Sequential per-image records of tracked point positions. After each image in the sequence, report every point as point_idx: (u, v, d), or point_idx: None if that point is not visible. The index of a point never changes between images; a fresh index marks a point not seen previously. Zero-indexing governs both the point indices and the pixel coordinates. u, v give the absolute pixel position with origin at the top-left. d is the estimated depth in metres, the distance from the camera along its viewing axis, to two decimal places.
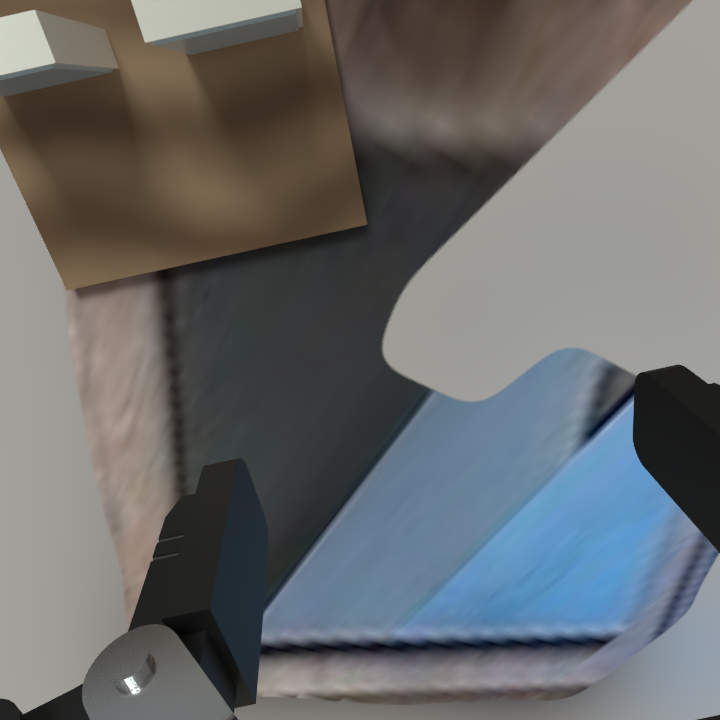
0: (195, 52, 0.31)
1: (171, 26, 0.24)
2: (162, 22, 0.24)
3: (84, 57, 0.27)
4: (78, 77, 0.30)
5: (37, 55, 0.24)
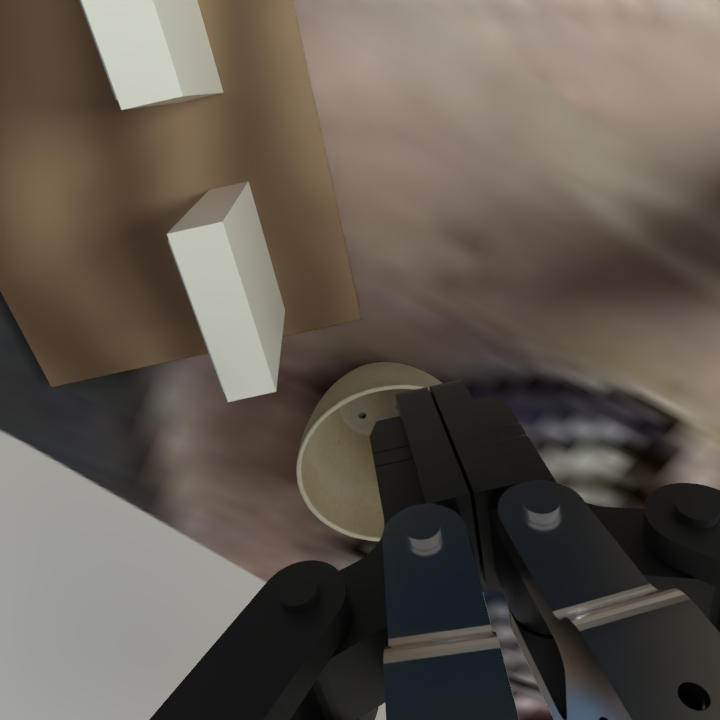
0: None
1: (189, 267, 0.20)
2: (192, 257, 0.20)
3: (162, 103, 0.21)
4: None
5: (126, 85, 0.17)
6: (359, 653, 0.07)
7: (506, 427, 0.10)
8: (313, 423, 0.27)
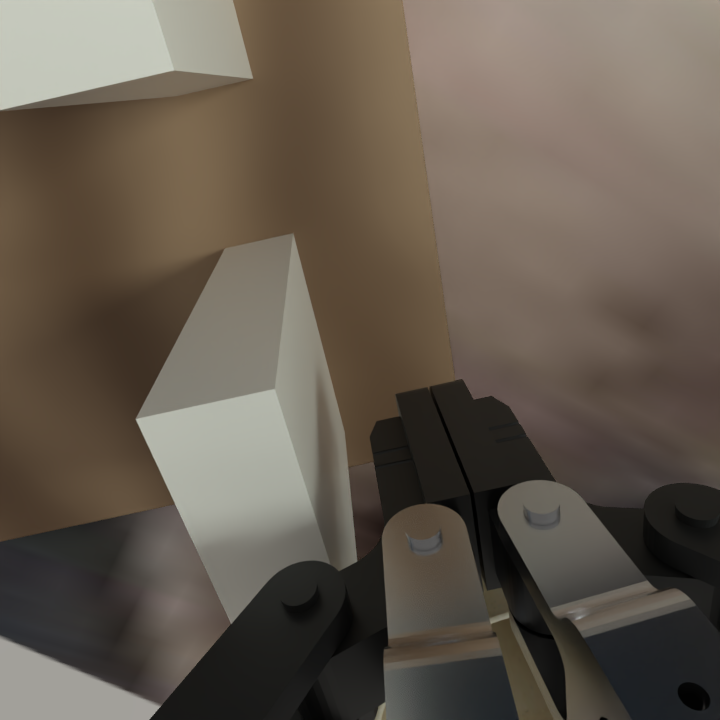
0: None
1: (192, 485, 0.08)
2: (199, 465, 0.08)
3: (131, 97, 0.09)
4: None
5: (0, 36, 0.06)
6: (359, 653, 0.07)
7: (506, 427, 0.10)
8: None
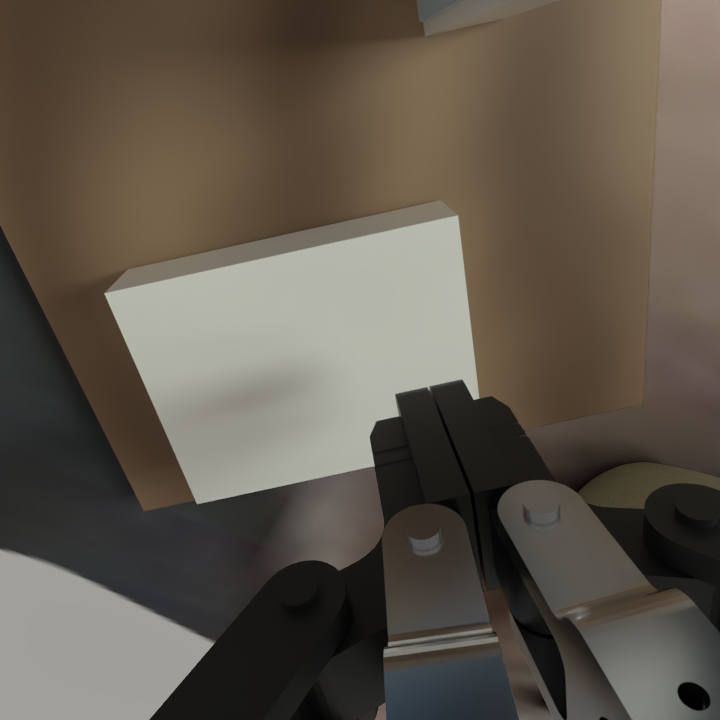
0: None
1: None
2: None
3: (505, 7, 0.09)
4: None
5: None
6: (359, 653, 0.07)
7: (506, 427, 0.10)
8: None
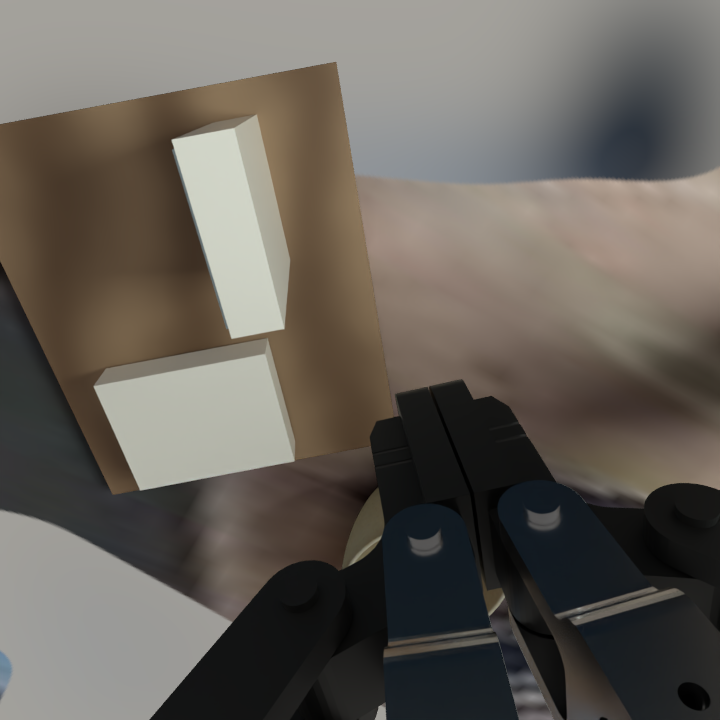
0: None
1: None
2: None
3: None
4: None
5: (237, 321, 0.20)
6: (359, 653, 0.07)
7: (506, 427, 0.10)
8: (359, 549, 0.30)
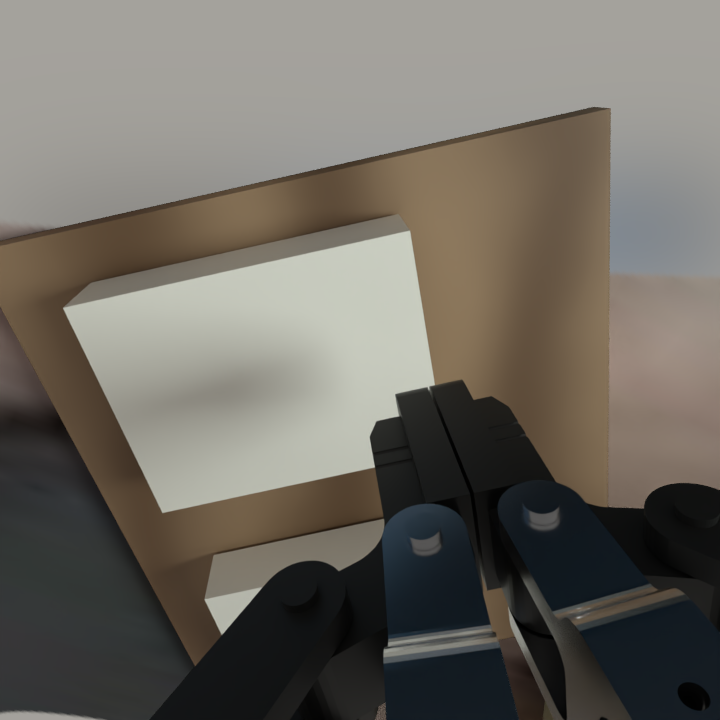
0: None
1: None
2: None
3: None
4: None
5: None
6: (359, 653, 0.07)
7: (506, 427, 0.10)
8: None
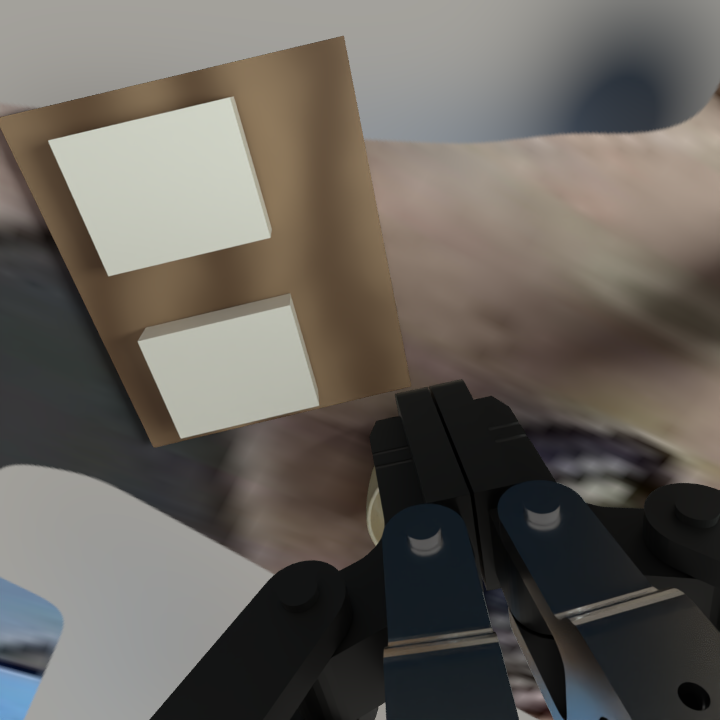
0: None
1: None
2: None
3: None
4: None
5: None
6: (359, 653, 0.07)
7: (506, 427, 0.10)
8: None
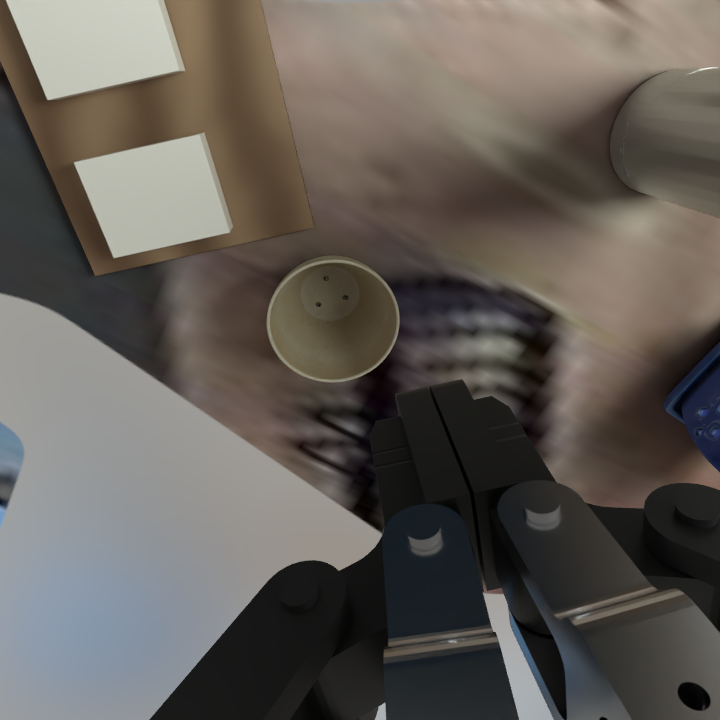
0: None
1: None
2: None
3: (112, 87, 0.38)
4: None
5: None
6: (359, 653, 0.07)
7: (506, 427, 0.10)
8: (277, 288, 0.40)
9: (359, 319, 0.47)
